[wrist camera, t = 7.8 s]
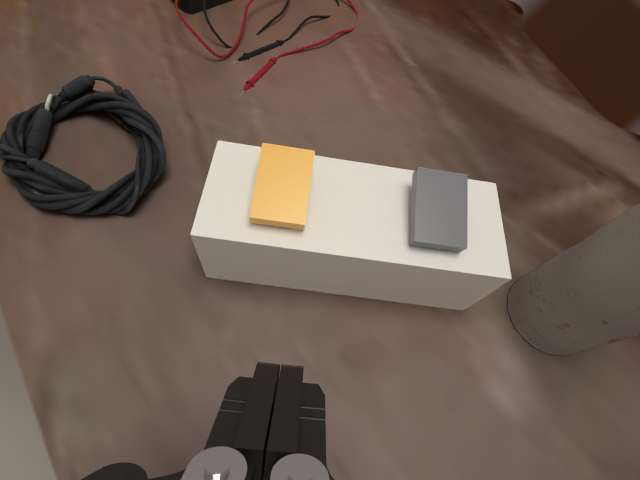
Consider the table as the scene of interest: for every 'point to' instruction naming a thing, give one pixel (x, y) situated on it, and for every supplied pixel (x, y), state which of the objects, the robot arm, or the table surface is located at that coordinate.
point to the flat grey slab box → (439, 210)
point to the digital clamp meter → (193, 3)
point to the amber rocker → (282, 186)
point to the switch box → (346, 236)
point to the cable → (62, 188)
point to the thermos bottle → (583, 292)
